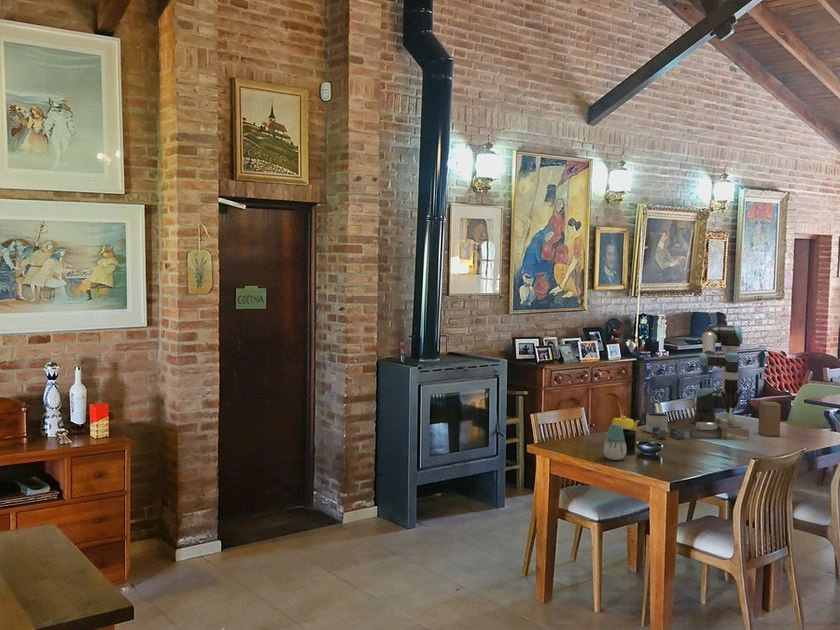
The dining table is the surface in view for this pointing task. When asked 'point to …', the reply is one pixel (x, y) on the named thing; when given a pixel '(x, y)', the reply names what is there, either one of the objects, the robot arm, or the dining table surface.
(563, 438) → the dining table surface
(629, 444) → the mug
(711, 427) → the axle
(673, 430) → the v block
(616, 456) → the vase
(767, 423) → the wooden block
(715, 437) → the beam
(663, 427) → the planter
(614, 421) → the teapot
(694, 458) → the dining table surface
